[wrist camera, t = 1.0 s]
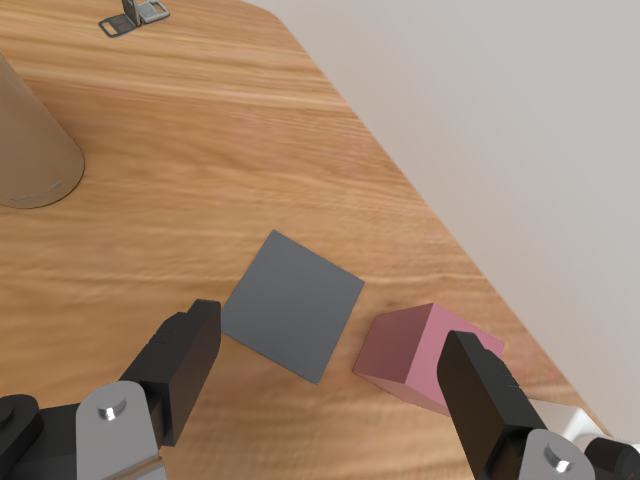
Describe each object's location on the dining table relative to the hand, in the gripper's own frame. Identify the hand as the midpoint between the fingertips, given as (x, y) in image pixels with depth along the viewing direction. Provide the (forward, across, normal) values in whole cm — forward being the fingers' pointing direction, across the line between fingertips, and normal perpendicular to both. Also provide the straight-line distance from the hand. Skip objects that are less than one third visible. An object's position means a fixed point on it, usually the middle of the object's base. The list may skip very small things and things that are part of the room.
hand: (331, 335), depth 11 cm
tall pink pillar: (+18, -8, +17) cm, 26 cm away
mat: (+20, +3, +12) cm, 23 cm away
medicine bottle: (+15, -24, +24) cm, 38 cm away
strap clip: (+40, +28, -14) cm, 50 cm away
